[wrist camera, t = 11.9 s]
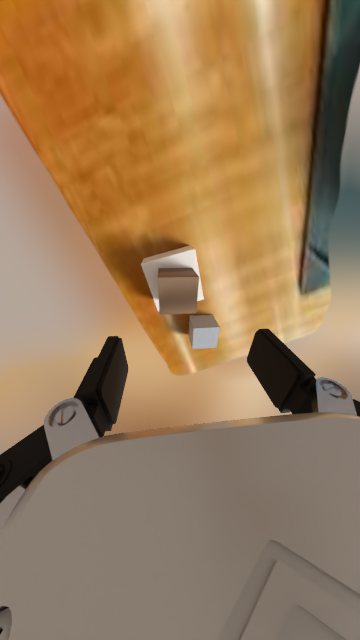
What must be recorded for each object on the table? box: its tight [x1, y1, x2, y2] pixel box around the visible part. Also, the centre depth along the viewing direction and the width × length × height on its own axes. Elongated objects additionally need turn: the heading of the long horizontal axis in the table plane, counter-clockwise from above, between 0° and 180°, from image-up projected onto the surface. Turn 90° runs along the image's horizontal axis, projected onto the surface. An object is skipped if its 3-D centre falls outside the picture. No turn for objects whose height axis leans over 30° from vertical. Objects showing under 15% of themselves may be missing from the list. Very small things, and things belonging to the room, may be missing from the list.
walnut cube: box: [158, 268, 199, 315], centre depth 22 cm, size 5×5×5 cm
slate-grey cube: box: [189, 315, 220, 349], centre depth 32 cm, size 5×5×5 cm
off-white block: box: [141, 246, 204, 311], centre depth 26 cm, size 8×8×5 cm
